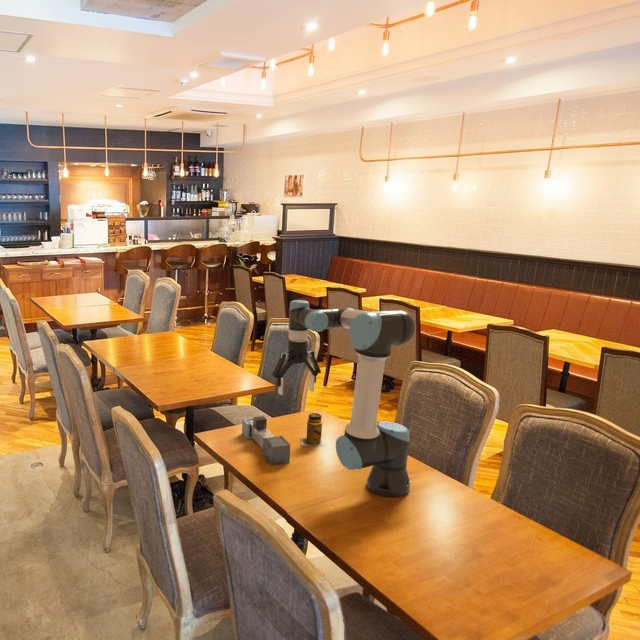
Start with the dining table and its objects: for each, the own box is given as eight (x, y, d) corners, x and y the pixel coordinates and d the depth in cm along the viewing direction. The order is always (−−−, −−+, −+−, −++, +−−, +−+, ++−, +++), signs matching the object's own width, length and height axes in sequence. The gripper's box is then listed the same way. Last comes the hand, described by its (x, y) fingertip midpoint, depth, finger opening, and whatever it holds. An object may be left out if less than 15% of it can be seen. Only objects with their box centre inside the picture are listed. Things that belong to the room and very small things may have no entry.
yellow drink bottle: (322, 446, 241) (324, 418, 239) (302, 446, 240) (303, 418, 238) (320, 438, 248) (322, 411, 246) (300, 438, 247) (301, 411, 245)
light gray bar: (277, 451, 230) (278, 430, 229) (266, 453, 228) (267, 431, 227) (257, 430, 250) (258, 410, 248) (247, 431, 248) (247, 412, 246)
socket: (264, 436, 247) (265, 422, 246) (246, 439, 243) (247, 424, 242) (259, 431, 252) (259, 417, 251) (242, 433, 249) (242, 419, 247)
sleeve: (289, 463, 224) (290, 444, 222) (271, 465, 221) (271, 447, 219) (280, 453, 232) (281, 435, 230) (262, 456, 228) (263, 438, 227)
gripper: (321, 336, 240) (319, 386, 244) (264, 339, 228) (263, 393, 232) (330, 339, 234) (328, 391, 237) (272, 344, 222) (271, 398, 226)
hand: (296, 392), depth 235 cm, fingers open, 13 cm apart
